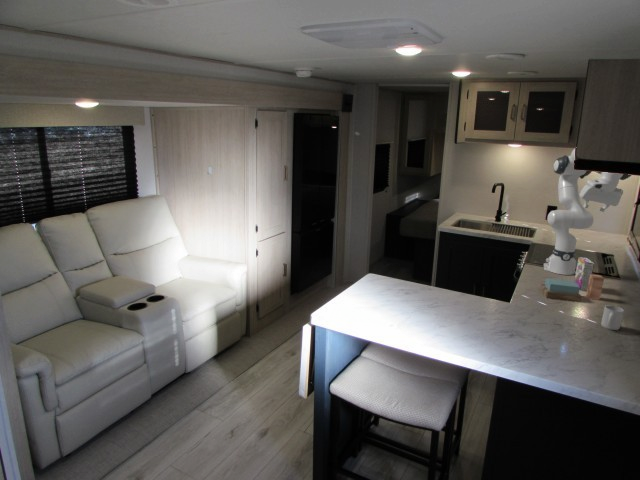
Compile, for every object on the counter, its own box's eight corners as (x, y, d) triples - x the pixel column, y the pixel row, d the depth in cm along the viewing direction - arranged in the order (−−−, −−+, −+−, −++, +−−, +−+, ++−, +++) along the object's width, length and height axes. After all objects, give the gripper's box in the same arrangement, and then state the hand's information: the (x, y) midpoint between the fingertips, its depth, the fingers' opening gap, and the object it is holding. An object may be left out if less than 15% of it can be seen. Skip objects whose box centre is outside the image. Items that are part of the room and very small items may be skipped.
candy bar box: (572, 284, 264) (578, 256, 260) (582, 285, 263) (587, 257, 259) (579, 290, 253) (585, 262, 249) (589, 291, 252) (595, 263, 248)
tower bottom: (540, 290, 251) (541, 284, 250) (572, 294, 248) (573, 287, 247) (546, 299, 239) (547, 292, 238) (579, 303, 236) (581, 295, 235)
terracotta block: (586, 295, 246) (590, 274, 243) (596, 296, 245) (600, 275, 242) (589, 298, 241) (593, 277, 238) (599, 300, 240) (604, 278, 237)
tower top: (544, 285, 249) (545, 278, 248) (572, 288, 246) (574, 281, 245) (549, 291, 239) (550, 284, 238) (578, 294, 236) (579, 287, 235)
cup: (620, 326, 206) (624, 308, 204) (617, 333, 199) (621, 314, 197) (602, 322, 211) (606, 304, 209) (598, 328, 203) (602, 309, 201)
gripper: (621, 187, 241) (608, 211, 248) (585, 179, 240) (572, 203, 246) (628, 192, 236) (614, 215, 242) (591, 183, 234) (578, 207, 241)
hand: (593, 209), depth 244 cm, fingers open, 8 cm apart
